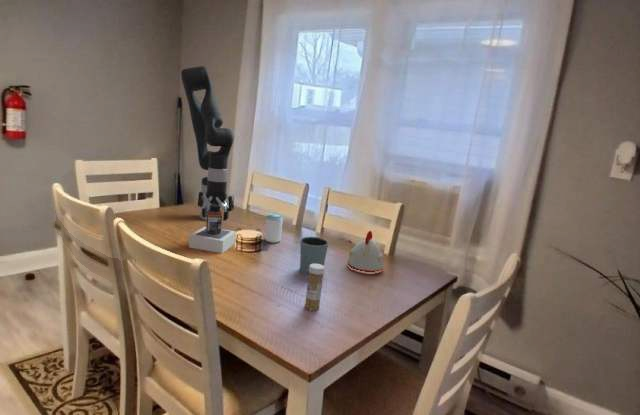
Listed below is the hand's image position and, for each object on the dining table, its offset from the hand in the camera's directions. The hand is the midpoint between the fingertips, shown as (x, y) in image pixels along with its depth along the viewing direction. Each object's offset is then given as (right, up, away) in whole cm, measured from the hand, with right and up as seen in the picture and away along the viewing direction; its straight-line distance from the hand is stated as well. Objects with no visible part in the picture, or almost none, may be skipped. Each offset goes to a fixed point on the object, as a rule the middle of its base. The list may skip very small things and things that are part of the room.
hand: (215, 218), depth 168 cm
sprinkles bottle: (+40, -26, -41) cm, 63 cm away
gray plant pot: (+39, -19, -14) cm, 45 cm away
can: (+21, -10, +17) cm, 29 cm away
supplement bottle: (-1, -6, +1) cm, 6 cm away
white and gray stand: (-1, -11, +2) cm, 11 cm away
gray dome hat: (+60, -19, -3) cm, 63 cm away
